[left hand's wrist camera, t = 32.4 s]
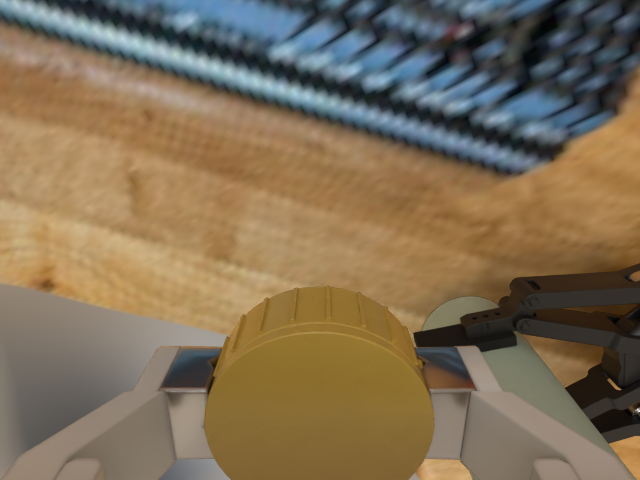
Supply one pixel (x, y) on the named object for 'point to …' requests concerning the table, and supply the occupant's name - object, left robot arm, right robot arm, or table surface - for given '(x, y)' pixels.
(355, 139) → the table surface
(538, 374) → the bottle
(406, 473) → the cap
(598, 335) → the right robot arm
